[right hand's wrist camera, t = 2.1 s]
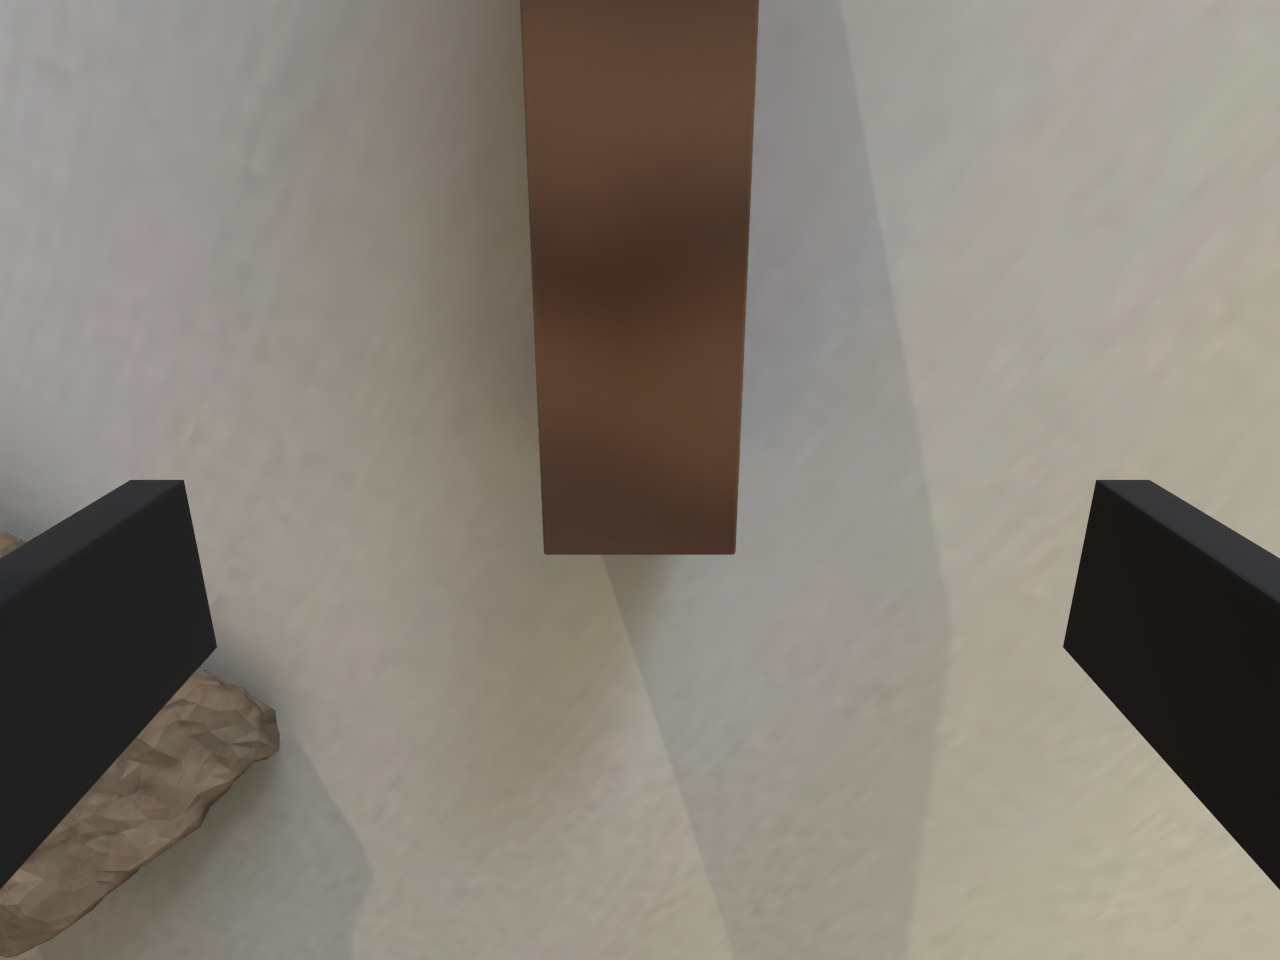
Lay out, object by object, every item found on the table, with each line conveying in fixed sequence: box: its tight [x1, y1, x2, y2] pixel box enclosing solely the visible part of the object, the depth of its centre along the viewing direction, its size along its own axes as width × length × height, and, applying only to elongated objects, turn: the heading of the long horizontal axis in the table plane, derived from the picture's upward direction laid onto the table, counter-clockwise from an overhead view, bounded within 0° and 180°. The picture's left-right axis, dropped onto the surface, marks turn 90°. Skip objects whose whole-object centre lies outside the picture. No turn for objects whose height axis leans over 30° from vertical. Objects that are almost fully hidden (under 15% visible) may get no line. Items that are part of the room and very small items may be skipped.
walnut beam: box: [520, 0, 759, 554], centre depth 21 cm, size 26×5×8 cm, turn 0°
